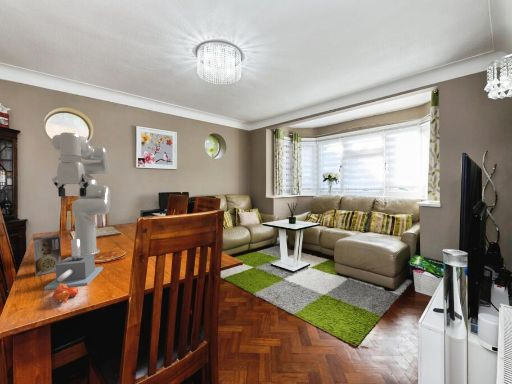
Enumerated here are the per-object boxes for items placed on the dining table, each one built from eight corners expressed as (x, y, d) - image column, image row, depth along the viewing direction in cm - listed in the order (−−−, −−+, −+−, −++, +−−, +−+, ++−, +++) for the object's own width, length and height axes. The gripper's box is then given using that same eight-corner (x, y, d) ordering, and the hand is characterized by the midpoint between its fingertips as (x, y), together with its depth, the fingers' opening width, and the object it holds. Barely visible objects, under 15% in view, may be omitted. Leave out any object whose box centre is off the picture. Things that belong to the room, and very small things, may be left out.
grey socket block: (67, 272, 105) (67, 254, 104) (103, 268, 109) (102, 252, 108) (37, 294, 84) (36, 273, 83) (83, 289, 88) (82, 268, 87)
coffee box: (61, 267, 111) (59, 234, 111) (62, 270, 107) (60, 236, 106) (34, 272, 105) (33, 237, 104) (35, 276, 100) (33, 239, 100)
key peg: (70, 268, 96) (69, 240, 96) (75, 266, 99) (74, 238, 99) (77, 268, 96) (76, 240, 96) (82, 266, 99) (81, 238, 99)
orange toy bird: (52, 279, 83) (57, 290, 75) (77, 280, 88) (84, 290, 80) (47, 294, 82) (50, 307, 74) (72, 294, 87) (78, 305, 79)
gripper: (45, 159, 103) (46, 197, 104) (84, 159, 104) (85, 196, 105) (58, 160, 111) (60, 196, 112) (95, 160, 112) (96, 195, 112)
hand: (72, 196), depth 108 cm, fingers open, 9 cm apart
